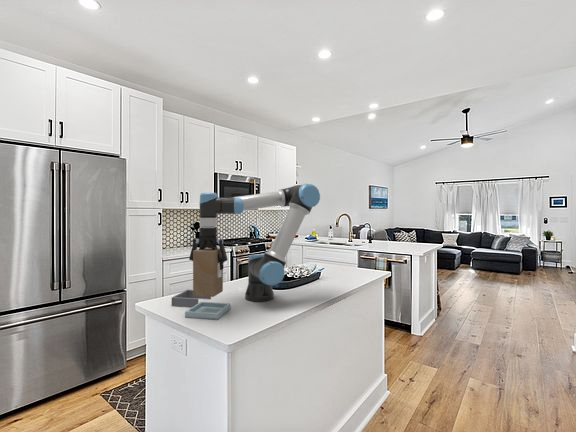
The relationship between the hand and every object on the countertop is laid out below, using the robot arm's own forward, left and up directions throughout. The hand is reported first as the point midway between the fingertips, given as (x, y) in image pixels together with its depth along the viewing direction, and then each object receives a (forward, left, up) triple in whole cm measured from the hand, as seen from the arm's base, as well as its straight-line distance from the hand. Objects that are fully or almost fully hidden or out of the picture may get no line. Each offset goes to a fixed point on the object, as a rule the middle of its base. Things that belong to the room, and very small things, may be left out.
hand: (208, 276), depth 140 cm
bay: (+15, -14, -17) cm, 26 cm away
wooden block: (0, 0, -8) cm, 8 cm away
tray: (0, 0, -17) cm, 17 cm away
